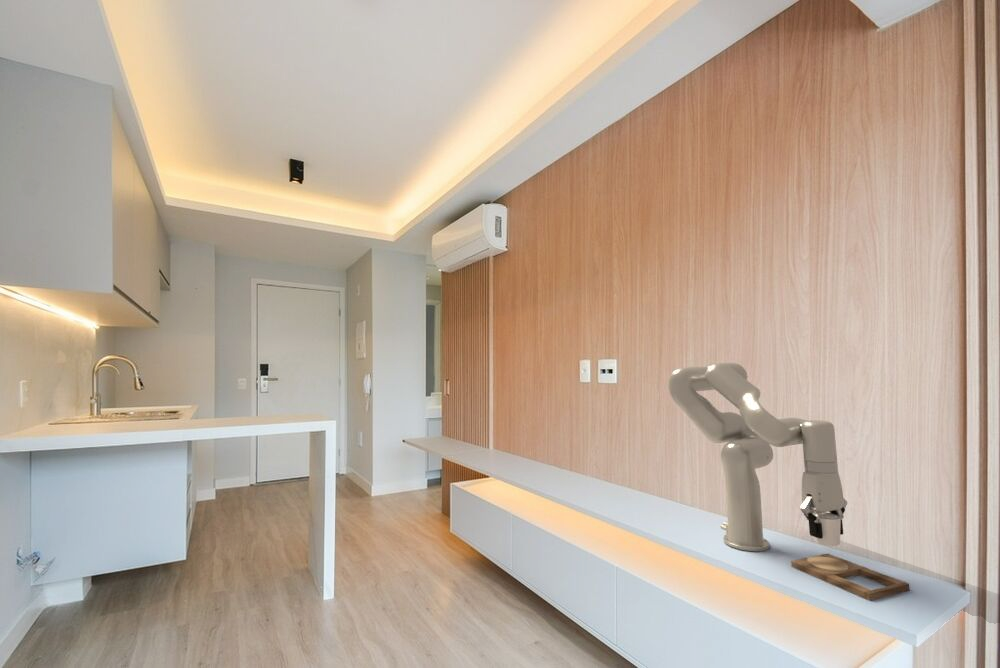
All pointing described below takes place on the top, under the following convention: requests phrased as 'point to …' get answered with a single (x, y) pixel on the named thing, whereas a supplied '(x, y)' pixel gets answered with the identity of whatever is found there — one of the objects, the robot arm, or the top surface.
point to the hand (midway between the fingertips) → (826, 534)
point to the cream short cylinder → (829, 529)
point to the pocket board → (849, 575)
